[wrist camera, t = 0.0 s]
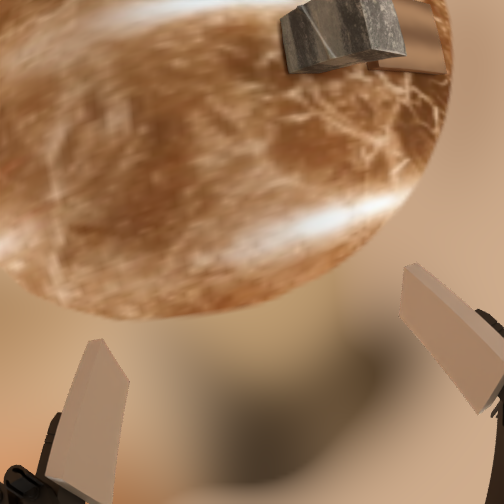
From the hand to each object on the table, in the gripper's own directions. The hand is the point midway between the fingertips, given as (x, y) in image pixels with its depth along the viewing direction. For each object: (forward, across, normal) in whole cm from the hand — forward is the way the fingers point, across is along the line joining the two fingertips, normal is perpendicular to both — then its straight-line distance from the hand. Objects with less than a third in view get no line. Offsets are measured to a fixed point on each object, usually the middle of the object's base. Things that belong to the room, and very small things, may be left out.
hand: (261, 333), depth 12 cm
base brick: (+27, +29, +19) cm, 44 cm away
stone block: (+27, +15, +17) cm, 36 cm away
